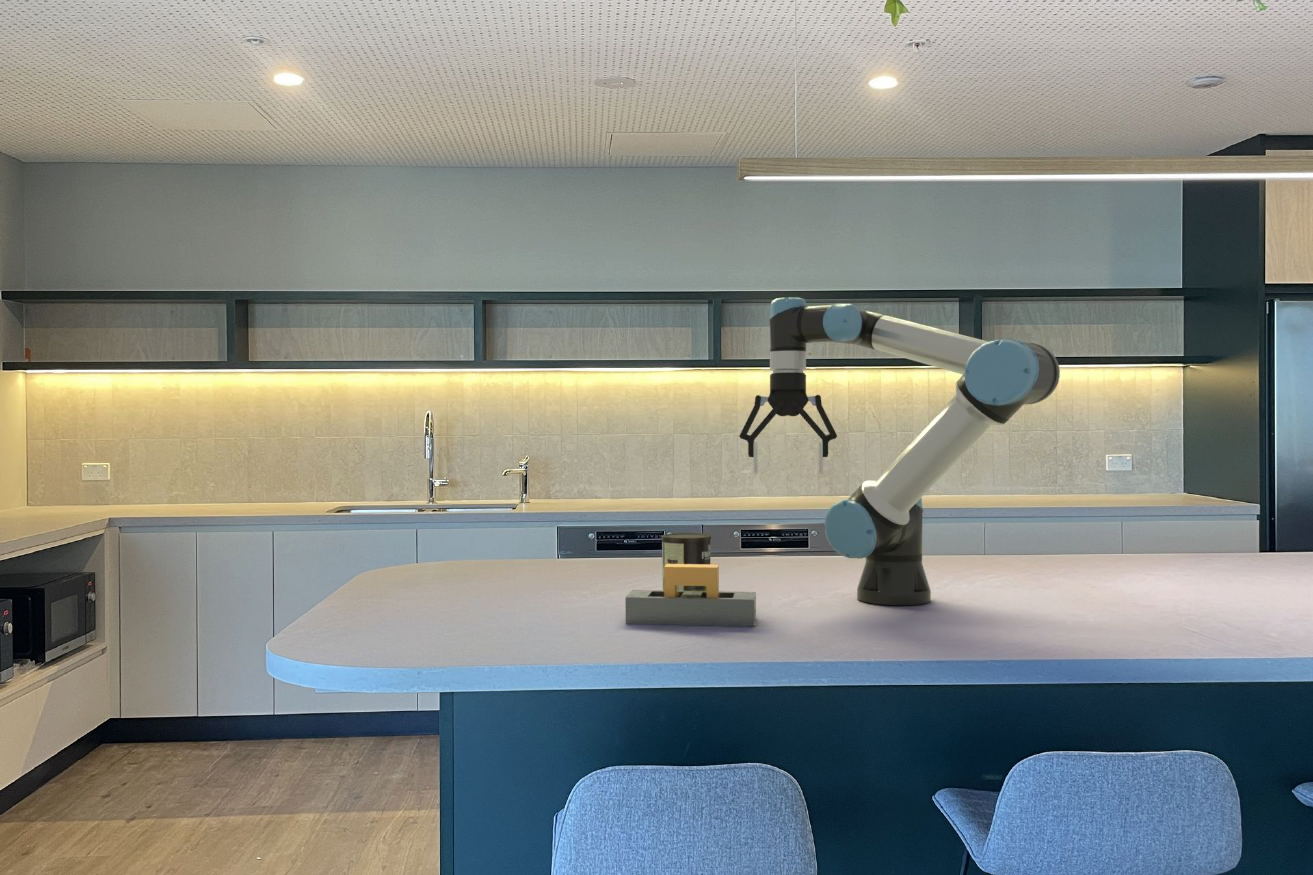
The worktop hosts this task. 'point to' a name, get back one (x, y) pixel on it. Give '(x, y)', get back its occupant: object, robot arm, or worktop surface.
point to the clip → (691, 578)
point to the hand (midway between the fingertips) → (788, 473)
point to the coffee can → (685, 552)
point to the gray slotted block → (691, 608)
